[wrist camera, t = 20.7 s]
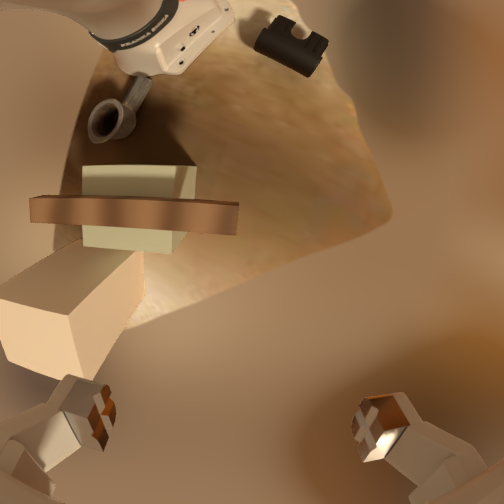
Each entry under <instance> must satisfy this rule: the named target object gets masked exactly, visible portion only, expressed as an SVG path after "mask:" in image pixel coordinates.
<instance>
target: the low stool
mask: <svg viewBox="0 0 504 504" xmlns="http://www.w3.org/2000/svg"><path fill="white" fill-rule="evenodd" d="M196 170H197V166H181V165H144V164H123V165H93V166H83V168H82V195H110V196H142V197H165V198H184V199H194V196H195V182H196ZM82 231H83V246H86V247H97V248H108V249H119V250H131V251H142V252H154V253H165V254H172V253H173V251H174V250H175V249H176V247H177V246H178V245H179V243H180V242H181V241H182V239H183V238H184V237H185V235H186V234H187V233H188V232H182V231H168V230H154V229H139V228H123V227H107V226H90V225H82Z"/></svg>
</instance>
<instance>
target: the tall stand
mask: <svg viewBox="0 0 504 504" xmlns="http://www.w3.org/2000/svg"><path fill="white" fill-rule="evenodd" d="M144 296H145V288H144V262H143V252H142V251H131V250H119V249H108V248H97V247H86V246H83V240H81V239H78V240H76V241H74V242H72V243H70V244H69V245H67V246H65V247H63V248H61V249H60V250H58V251H56V252H54V253H52V254H51V255H49V256H47V257H46V258H44V259H42V260H40V261H39V262H37V263H35V264H34V265H32V266H30V267H29V268H27V269H25V270H24V271H22V272H21V273H19V274H17V275H16V276H14V277H13V278H11V279H9V280H8V281H7V282H5V283H3V284H2V285H0V340H1V343H2V346H3V348H4V351H5V353H6V356H7V359H8V361H10V362H13V363H15V364H18V365H20V366H23V367H25V368H28V369H30V370H33V371H36V372H38V373H41V374H44V375H46V376H49V377H52V378H55V379H58V380H62V379H63V377H64V376H65V375H67V374H71V375H74V376H77V377H81V378H85V379H88V380H91V381H92V380H93V378H94V376H95V375H96V373H97V371H98V370H99V368H100V366H101V364H102V363H103V361H104V359H105V358H106V356H107V354H108V353H109V351H110V350H111V348H112V346H113V345H114V343H115V341H116V340H117V338H118V337H119V335H120V333H121V332H122V330H123V329H124V327H125V325H126V324H127V322H128V321H129V319H130V318H131V316H132V315H133V313H134V311H135V310H136V308H137V307H138V305H139V304H140V302H141V301H142V299H143V298H144Z"/></svg>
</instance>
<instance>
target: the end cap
mask: <svg viewBox="0 0 504 504" xmlns="http://www.w3.org/2000/svg"><path fill="white" fill-rule="evenodd" d="M295 24H296V22H294V21H292V20H290V19H288V18H286V17H283V16H281V15H278V17H277V18H275V19H274V21H273V22H272V23H271V25H270V26H269V27H268V29H266V28H264V29H263V30H262V32H261V33H260V35H259V37H258V39H257V41H256V43H255V45H254V50H255V51H256V52H259V53H261V54H263V55H265V56H267V57H269V58H271V59H273V60H275V61H277V62H279V63H281V64H283V65H285V66H287V67H289V68H291V69H293V70H295V71H296V72H298V73H300V74H302V75H304V76H305V77H307V78H308V77H310V76H311V75H312V73H313V72H314V70H315V69H316V67H317V66H318V64H319V63H320V61H321V60H322V57H321V56H322V54H323V52H324V51H325V49H326V48H327V46H328V42H329V41H328V40H327V39H326V38H324V37H323V36H321V35H319V34H317V33H315V32H314V31H312V32H311V34H310V35H309V37H308V38H307V39H304V40H300V39H297V38H295V37H294V36H293V35H292V34H291V29H292V28H293V26H294V25H295Z"/></svg>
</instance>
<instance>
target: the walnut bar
mask: <svg viewBox="0 0 504 504" xmlns="http://www.w3.org/2000/svg"><path fill="white" fill-rule="evenodd" d="M29 200H30V201H29V202H30V221H31V222H33V223H34V222H35V223H54V224H73V225H90V226H107V227H123V228H139V229H154V230H168V231H182V232H196V233H209V234H222V235H235V236H236V233H237V222H238V210H239V202H228V201H215V200H200V199H184V198H165V197H142V196H110V195H42V196H38V197H34V198H30V199H29Z"/></svg>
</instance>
